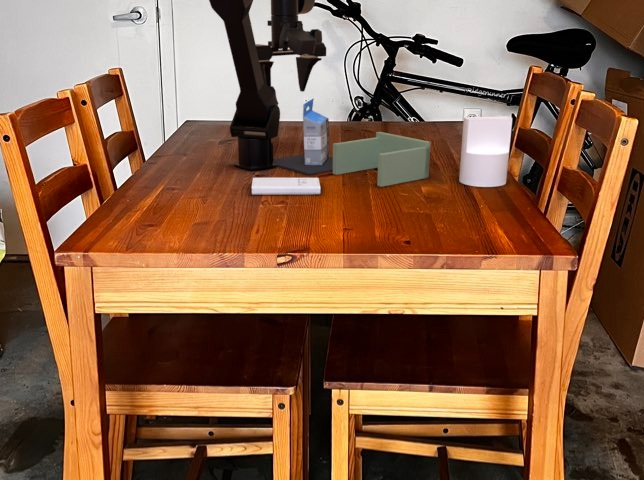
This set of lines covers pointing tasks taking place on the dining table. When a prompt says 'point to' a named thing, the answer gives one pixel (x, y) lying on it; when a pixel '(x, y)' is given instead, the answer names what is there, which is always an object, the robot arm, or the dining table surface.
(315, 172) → the mat
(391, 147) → the u-shaped bracket
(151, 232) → the dining table surface
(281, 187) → the hard drive
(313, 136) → the label tape box
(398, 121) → the dining table surface
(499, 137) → the cylinder with rectangular tab
